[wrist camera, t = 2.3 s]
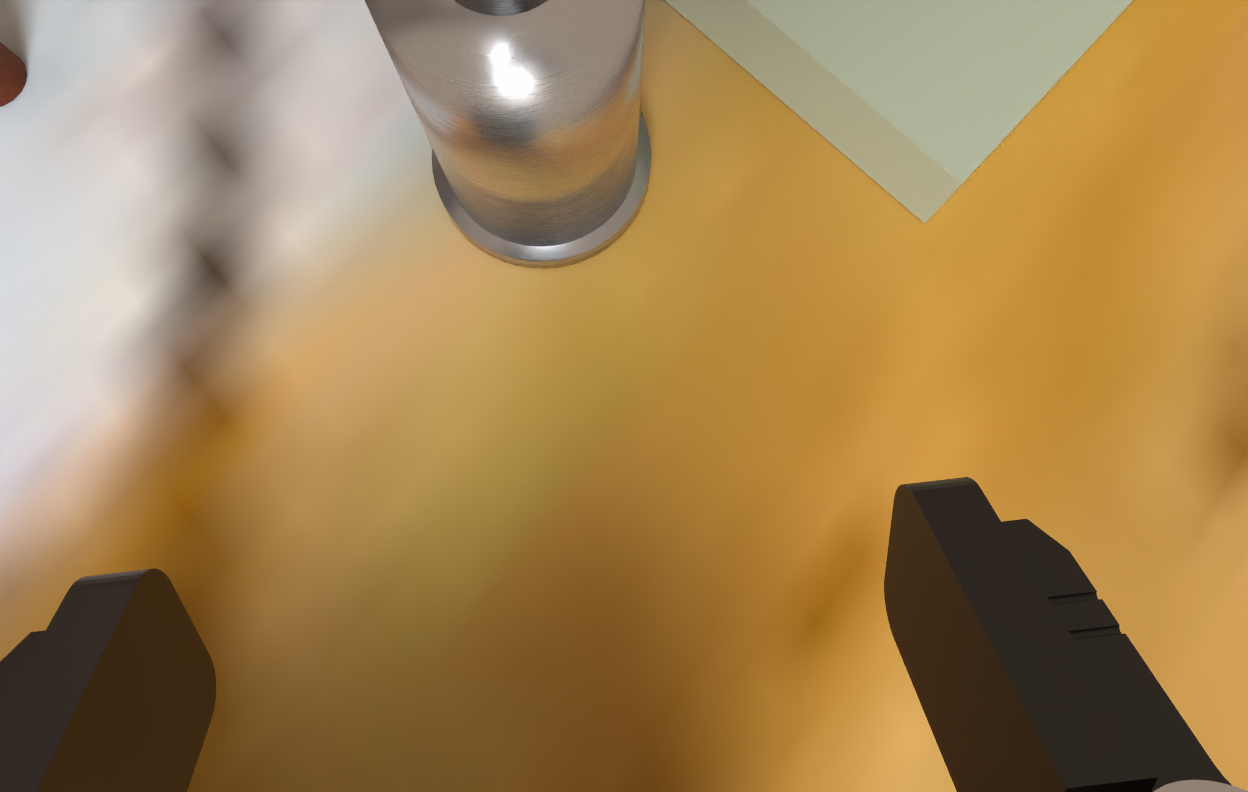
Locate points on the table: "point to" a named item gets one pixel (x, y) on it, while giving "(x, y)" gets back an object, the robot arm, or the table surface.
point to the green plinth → (907, 74)
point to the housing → (528, 118)
